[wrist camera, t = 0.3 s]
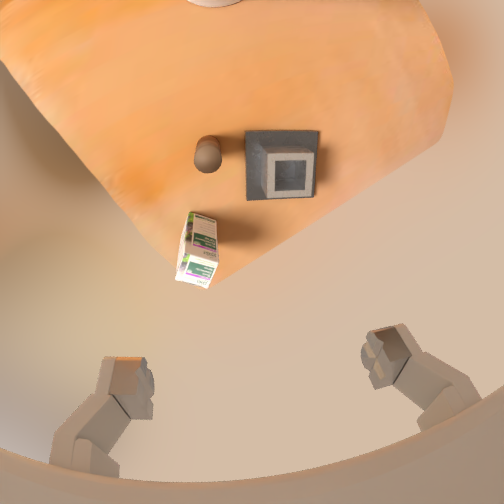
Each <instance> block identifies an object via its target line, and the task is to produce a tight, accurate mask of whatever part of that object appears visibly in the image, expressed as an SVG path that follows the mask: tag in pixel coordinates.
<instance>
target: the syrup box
mask: <svg viewBox="0 0 504 504" xmlns="http://www.w3.org/2000/svg"><path fill="white" fill-rule="evenodd" d="M218 263H219V254H218V243H217V223H216V220H213V219H210V218H207V217H204V216H201V215H198V214H195V213H191V212H189V214H188V217H187V220H186V223H185V226H184V229H183V232H182V235H181V240H180V247H179V254H178V262H177V270H176V277H175V280H178V281H182V282H186V283H189V284H192V285H196V286H200V287H204V288H208V287H209V285H210V282H211V280H212V278H213V275H214V273H215V270H216V268H217V266H218Z"/></svg>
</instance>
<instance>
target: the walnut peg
mask: <svg viewBox="0 0 504 504" xmlns="http://www.w3.org/2000/svg"><path fill="white" fill-rule="evenodd" d="M221 163H222V156H221V151H220V145H219V142H218V140H217V139H216V138H215V137H213V136H204V137H202V138H201V139H200V140H199V141H198V143H197V147H196V152H195V157H194V164H195V166H196V168H197V169H198V170H199V171H201V172H203V173H212V172H215V171H216V170H217V169H218V168H219V167H220V166H221Z"/></svg>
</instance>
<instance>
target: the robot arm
mask: <svg viewBox="0 0 504 504" xmlns="http://www.w3.org/2000/svg"><path fill="white" fill-rule="evenodd" d="M187 1H189V2H191V3H194V4H196V5H200V6H205V7H222V6H227V5H231V4H234V3H237V2H239V1H241V0H187ZM366 339H367V342H366V343H365V344H364V345H363V346H362V349H361V359H362V363H363V365H364V367H365V368H366V369H368V370H369V371H370V374H369V378H370V380H371V382H372V384H373V387H374V389H379V388H382V387H386V386H390V385H393V386H394V387H395V388H397V389H398V390H399V391H401V392H402V393H403V394H404V395H405V396H406V397H408V398H409V399H410V400H412V401H413V402H414V403H415V404H417V405H418V406H419V407H420V408H422V409H423V410H424V412H423V413H422V414H421V416H420V417H419V418H418V419H417V423H418V425H419V427H420V430H421V432H420V433H418V434H416V435H413V436H411V437H409V438H406V439H404V440H401V441H399V442H396V443H394V444H391V445H389V446H386V447H383V448H381V449H378V450H375V451H372V452H369V453H366V454H363V455H360V456H357V457H353V458H350V459H347V460H343V461H340V462H336V463H332V464H328V465H324V466H320V467H316V468H312V469H307V470H302V471H297V472H292V473H287V474H281V475H275V476H269V477H261V478H254V479H244V480H233V481H218V482H154V481H141V480H131V479H122V478H119V464H118V463H117V462H115V461H114V460H113V459H112V458H110V457H109V456H108V453H109V452H110V450H111V449H112V447H113V446H114V444H115V443H116V442H117V440H118V438H119V437H120V436H121V434H122V433H123V432H124V430H125V428H126V427H127V426H128V424H129V423H130V421H131V420H130V419H146V420H147V419H149V420H150V419H152V416H153V403H152V401H151V399H150V398H151V397H152V396H153V394H154V378H153V375H152V372H151V370H150V369H148V368H147V361H146V359H145V358H144V357H104V359H103V360H102V364H101V368H100V372H99V377H98V381H97V385H96V390H95V394H90V396H89V397H88V398H87V399H86V400H85V401H84V402H83V403H82V404H81V405H80V406H79V407H78V408H77V409H76V410H75V411H74V412H73V413H72V415H71V416H70V417H69V418H68V419H67V420H66V421H65V422H64V423H63V424H62V425H61V426H60V427H59V428H58V429H57V431H56V432H55V433H54V438H53V443H52V448H51V454H50V460H49V464H47V463H43V462H40V461H36V460H33V459H30V458H27V457H24V456H21V455H18V454H16V453H13V452H10V451H7V450H5V449H2V448H0V504H504V385H503V386H502V387H500V388H499V389H497V390H496V391H494V392H493V393H491V394H490V395H488V396H487V397H485V398H484V399H482V398H481V397H480V395H479V394H478V392H477V390H476V389H475V387H474V385H473V384H472V382H471V380H470V378H469V377H468V376H467V375H465V374H464V373H462V372H460V371H458V370H457V369H455V368H453V367H451V366H450V365H448V364H446V363H444V362H443V361H441V360H439V359H437V358H436V357H434V356H432V355H431V354H429V353H427V352H424V353H423V352H422V350H421V348H420V347H419V345H418V344H417V342H416V341H415V339H414V337H413V336H412V335H411V333H410V331H409V330H408V328H407V327H406V326H405V325H404V324H398V325H394V326H389V327H384V328H380V329H376V330H372V331H369V332H368V334H367V336H366Z"/></svg>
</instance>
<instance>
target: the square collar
mask: <svg viewBox="0 0 504 504" xmlns="http://www.w3.org/2000/svg"><path fill="white" fill-rule="evenodd" d="M317 140H318V131H307V130H255V131H245V162H246V200H247V201H250V200H267V199H287V198H312V197H314V187H315V173H316V158H317Z"/></svg>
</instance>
